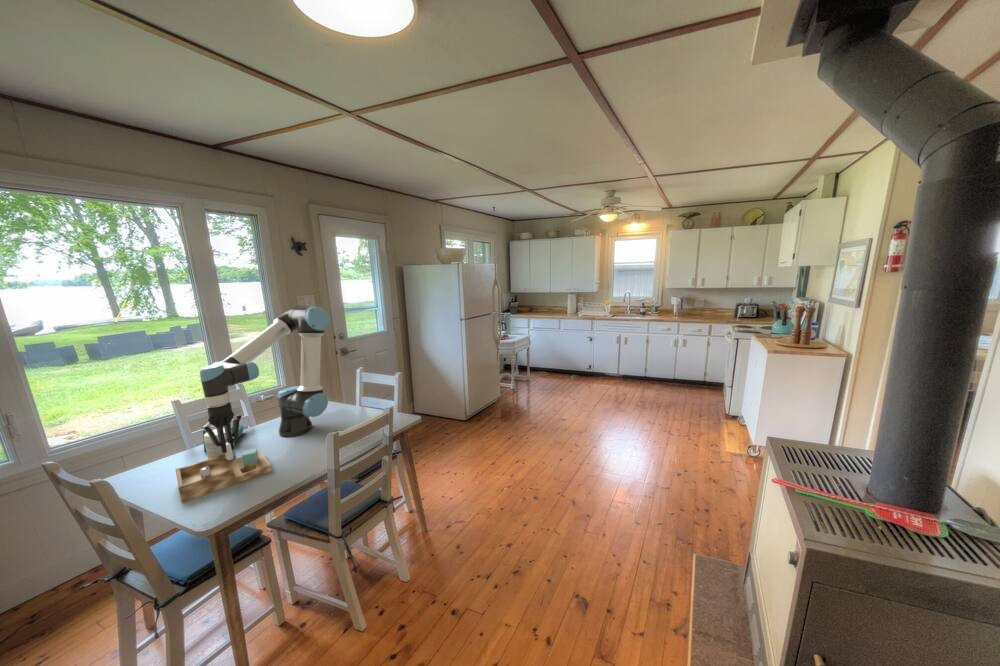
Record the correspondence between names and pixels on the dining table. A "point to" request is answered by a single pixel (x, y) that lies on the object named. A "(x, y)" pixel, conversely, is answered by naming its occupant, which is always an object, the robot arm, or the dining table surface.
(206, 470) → the silver metal knob
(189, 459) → the dining table surface
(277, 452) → the dining table surface
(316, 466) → the dining table surface
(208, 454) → the supplement tub
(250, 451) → the cube
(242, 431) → the teal l-shaped bracket
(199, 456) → the dining table surface
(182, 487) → the wooden tray
